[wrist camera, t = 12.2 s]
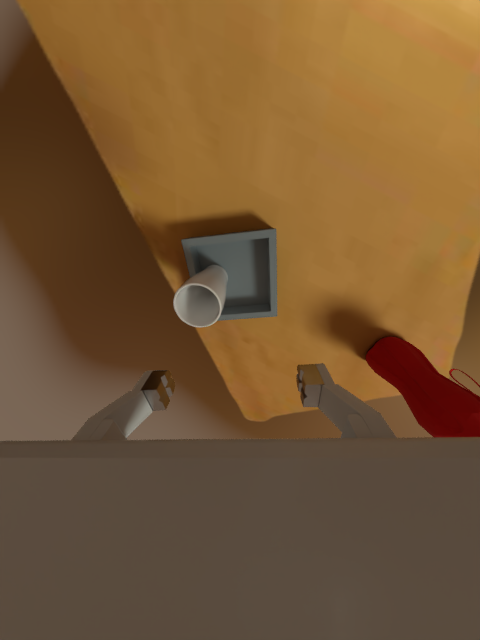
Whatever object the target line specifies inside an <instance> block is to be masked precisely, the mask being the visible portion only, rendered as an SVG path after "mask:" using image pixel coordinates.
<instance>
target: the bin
mask: <svg viewBox="0 0 480 640" xmlns="http://www.w3.org/2000/svg"><path fill="white" fill-rule="evenodd" d="M181 241H182V245H183V250H184V254H185V258H186V262H187V266H188V271H189V275H190V278H191V277H192V276H194V275H195V274H197V273H199V272H201V271H202V270H204V269H205V268H206V267H208V266H210V265H219V266H221V267H222V268H223V269H224V270H225V271H226V272H227V275H228V282H227V288H226V299H225V304H224V307H223V310H222V312H221V315H220V317H219V318H218V320H217V321H219V320H232V319H246V318H260V317H274V316H277V257H276V229H275V228H269V229H260V230H251V231H243V232H234V233H225V234H217V235H208V236H199V237H191V238H186V239H182V240H181Z"/></svg>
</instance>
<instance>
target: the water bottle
mask: <svg viewBox="0 0 480 640" xmlns="http://www.w3.org/2000/svg"><path fill="white" fill-rule="evenodd" d="M366 361H367V363H368V365H369V366H370V367H371V368H372V369H373V370H374V372H375V373H377V374H378V375H379V376H381V377H382V378H383V379H385V380H386V381H388V382H389V383H390V384H392V385H393V386H394V387H396V388H397V389H398V391H399V392H400V393H401V394H402V395H403V397H404V399H405V400H406V402H407V404H408V406H409V408H410V409H411V411H412V413H413V415H414V417H415V418H416V420H417V422H418V424H419V425H420V426H422V427H423V428H424V429H425V430H426V431H427V432H428V433H429V434H431V435H432V436H433V437H480V397H479V396H478V395H476V394H474V393H473V392H471V391H470V390H469V389H467V388H466V387H464V386H463V385H462V384H460V383H459V382H458V381H457V380H455V379H454V378H453V376H452V374H451V372H452V371H453V370H456V369H451V370H450V371H449V373H450V376H451V377H452V378H453V379H454V380H455V381H456V382H458V383H459V384H460V385H462V386H463V387H464V388H462V387H461V386H459V385H458V384H456V383H454V382H453V381H451V380H449V379H448V378H446V377H444V376H443V375H441V374H439V373H438V371H437V370H436V369H435V368H434V367H433V365H432V364H431V363H430V362H429V360H428V359H427V358H426V357H425V355H424V354H423V353H422V352H421V351H420V350H419V349H417V348H416V347H415V346H413V345H412V344H410V343H409V342H407V341H404V340H402V339H400V338H397V337H391V336H389V337H385V338H382V339H380V340H379V341H378V342H376V343H375V345H374V347H372V348H371V349H370V350H369V351H368V352H367V354H366ZM461 372H462V371H461ZM463 373H464V372H463ZM465 374H466V373H465ZM466 375H467V374H466ZM467 376H468V375H467ZM468 377H469V378H471V377H470V376H468ZM471 379H472V378H471ZM472 380H473V379H472ZM473 381H474V380H473ZM474 382H475V381H474ZM475 383H476V384H477V385H478V383H477V382H475ZM478 386H479V387H480V385H478ZM465 388H466V389H467V390H466V389H465ZM468 390H469V391H468Z"/></svg>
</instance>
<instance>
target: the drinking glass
mask: <svg viewBox="0 0 480 640" xmlns="http://www.w3.org/2000/svg"><path fill="white" fill-rule="evenodd" d="M227 282H228V275H227V272H226V271H225V270H224V269H223V268H222V267H221V266H219V265H210V266H208V267H206V268H205V269H204V270H202V271H201V272H199V273H197V274H195V275H194V276H192V277H191V278H189V279H188V280H187V281H186V282H184V283H183V284H182V286H181V287H180V288H179V289H178V290H177V292H176V293H175V296H174V300H173V302H174V303H173V304H174V309H175V311H176V313H177V315H178V316H179V318H180V319H181V320H182V321H184V322H185V323H187V324H189V325H191V326H194V327H207V326H210V325H212V324H213V323H215V322H216V321H217V320H218V318H219V317H220V315H221V312H222V310H223V307H224V304H225V299H226V288H227Z"/></svg>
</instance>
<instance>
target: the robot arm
mask: <svg viewBox="0 0 480 640" xmlns="http://www.w3.org/2000/svg"><path fill="white" fill-rule="evenodd" d="M297 371H298V374H297V378H296V379H297V387H298V391H300V392H301V395H300V397H301V401H302V404H303V407H318V408H319V409H320V410H321V411H322V412H323V413H324V414H325V415H326V416H327V417H328V418H329V419H330V420H331V421H332V422H333V423H334V424H335V425H336V426H337V427H338V428H339V429H340V431H342V436H341V438H307V439H306V438H304V439H303V438H302V439H300V438H299V439H193V440H192V439H189V440H188V439H183V440H180V439H179V440H127V437H128V436H129V434H131V433H132V431H134V430H135V429H136V428H137V427H138V425H140V424H141V423H142V422H143V421H144V420H145V419H146V418H147V417H148V416H149V415H150V414H151V413H152V412H153V411H156V410H166V408H167V406H168V404H169V402H170V399H169V397H170V396H171V395H172V394H173V392H174V389H175V382H174V380H173V379H172V378H171V372H170V371H169V370H157V371H146V372H144V374H143V375H142V377H141V378H140V380H139V381H138V382H137V384H136V385H135V387H134V388H133V390H132V391H129V392H128V393H126V394H124V395H123V396H121V397H120V398H119V399H117V400H115V401H114V402H112V403H111V404H109V405H108V406H107V407H105V408H104V409H102V410H101V411H99V412H98V413H96V414H95V415H93V416H92V417H90V418H89V419H88V420H87V421H86V422H85V424H84V425H83V426H82V427H81V429H80V430H79V431H78V432H77V434H76V435H75V436H74V437H73V439H72V440H62V441H61V440H59V441H58V440H56V441H54V440H53V441H0V640H480V437H432V438H431V437H425V438H397V437H396V436H395V435H394V433H393V432H392V430H391V429H390V427H389V426H388V424H387V423H386V421H385V420H384V418H383V417H382V415H381V414H380V413H379V412H377V411H376V410H374V409H373V408H372V407H370V406H368V405H367V404H366V403H364V402H363V401H361V400H360V399H358V398H357V397H355V396H354V395H353V394H351V393H350V392H348V391H347V390H345V389H344V388H342V387H341V386H339V385H338V384H335V383H334V381H333V379H332V378H331V376H330V374H329V372H328V370H327V368H326V366H325V365H324V364H323V363H322V364H305V365H298V366H297Z"/></svg>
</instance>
